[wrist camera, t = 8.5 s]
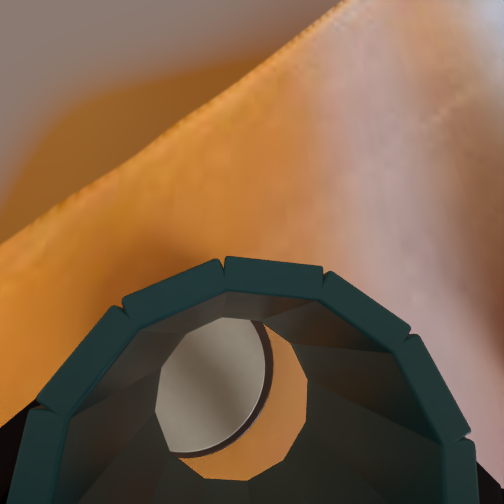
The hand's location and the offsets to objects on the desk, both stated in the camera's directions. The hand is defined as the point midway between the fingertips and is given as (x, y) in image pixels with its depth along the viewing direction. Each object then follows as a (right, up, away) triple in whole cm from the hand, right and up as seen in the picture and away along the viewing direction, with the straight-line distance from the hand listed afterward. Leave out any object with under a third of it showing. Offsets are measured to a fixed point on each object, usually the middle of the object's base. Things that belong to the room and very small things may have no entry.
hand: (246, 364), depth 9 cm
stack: (-4, -4, +12) cm, 13 cm away
